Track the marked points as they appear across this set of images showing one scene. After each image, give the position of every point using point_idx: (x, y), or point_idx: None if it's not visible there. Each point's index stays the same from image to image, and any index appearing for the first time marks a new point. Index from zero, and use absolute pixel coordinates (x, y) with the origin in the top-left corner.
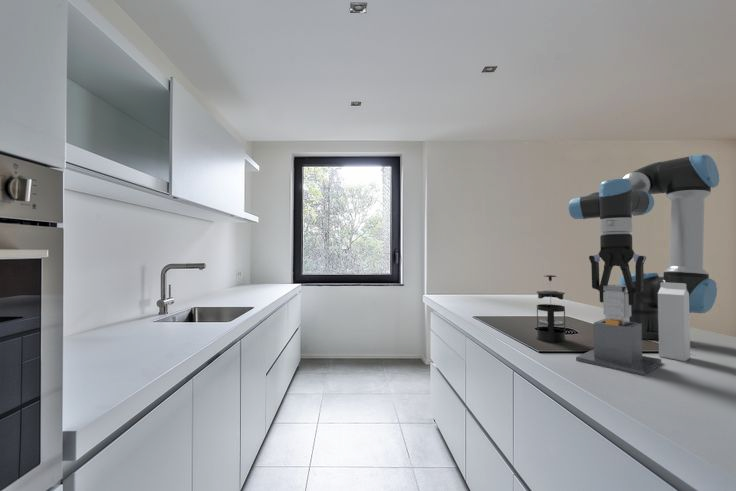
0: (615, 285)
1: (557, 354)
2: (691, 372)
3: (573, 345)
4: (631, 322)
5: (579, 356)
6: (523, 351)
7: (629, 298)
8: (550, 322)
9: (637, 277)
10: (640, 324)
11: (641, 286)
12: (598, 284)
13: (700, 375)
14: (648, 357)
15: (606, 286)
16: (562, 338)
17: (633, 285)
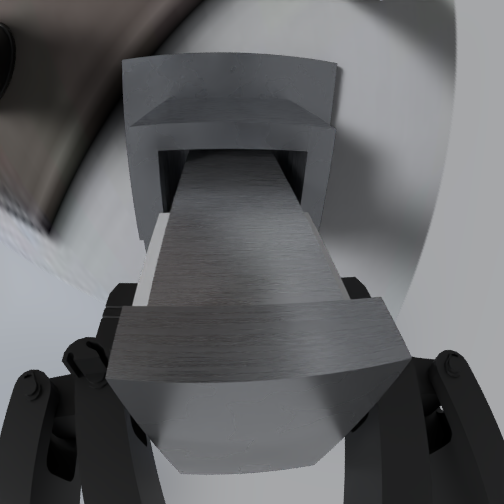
0: (235, 445)
1: (80, 215)
2: (397, 119)
3: (47, 64)
4: (287, 140)
5: (141, 227)
6: (33, 256)
7: None
8: None
9: (439, 492)
10: (331, 149)
11: (444, 417)
12: (50, 423)
13: (411, 135)
14: (301, 65)
15: (204, 472)
16: (4, 65)
17: (411, 421)
